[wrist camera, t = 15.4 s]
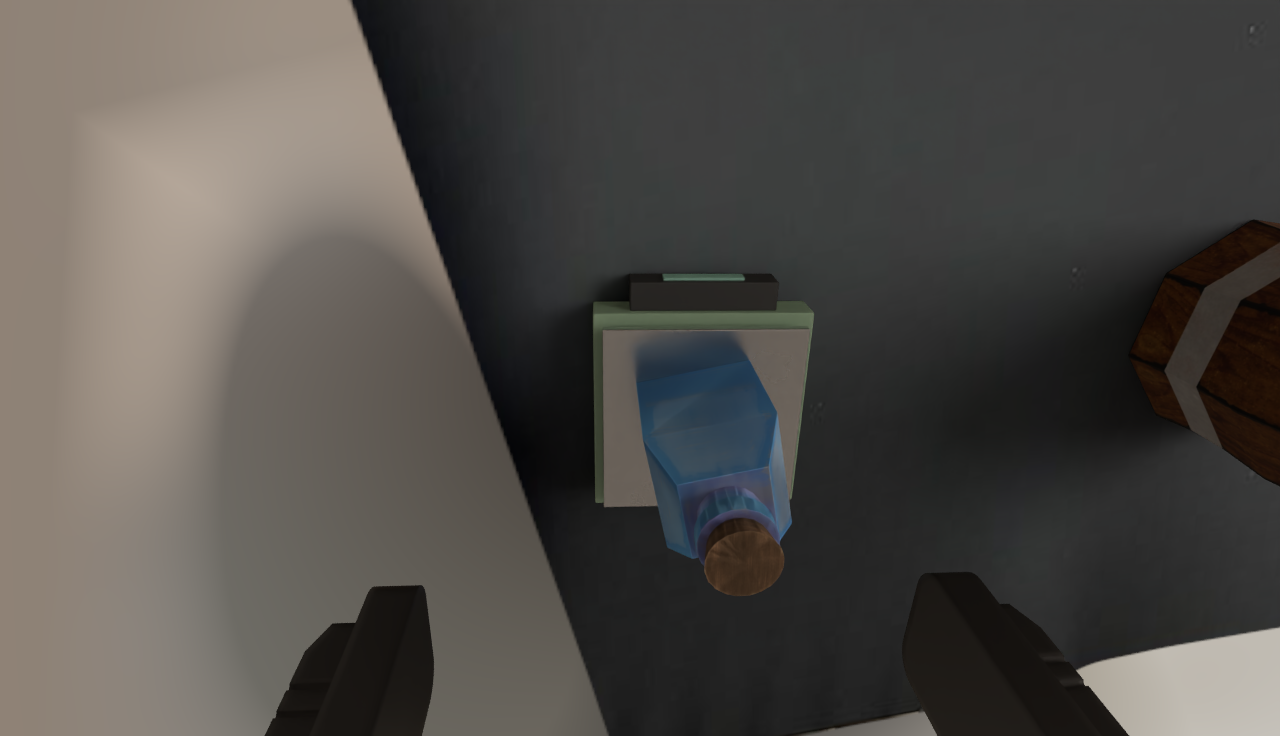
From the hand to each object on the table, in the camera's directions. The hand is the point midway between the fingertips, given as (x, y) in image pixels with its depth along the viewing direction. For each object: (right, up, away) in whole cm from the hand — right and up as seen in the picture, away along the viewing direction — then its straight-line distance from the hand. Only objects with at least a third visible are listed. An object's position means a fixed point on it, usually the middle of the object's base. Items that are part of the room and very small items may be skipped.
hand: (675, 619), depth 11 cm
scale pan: (+3, +1, +28) cm, 28 cm away
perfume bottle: (+3, +1, +27) cm, 27 cm away
